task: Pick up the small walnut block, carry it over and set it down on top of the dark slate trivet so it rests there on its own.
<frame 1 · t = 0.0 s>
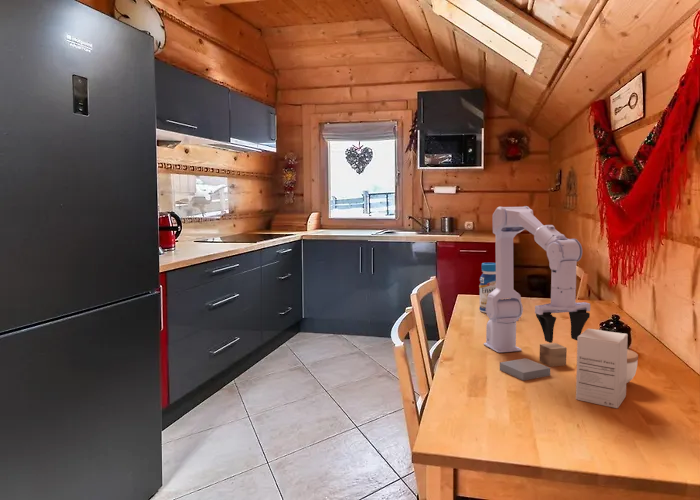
hand: (561, 340, 127), 10 cm above the table, tool pointing down, fingers open, 7 cm apart
lidded jar: (612, 382, 125), on the table
walnut block: (552, 363, 141), on the table
supplement box: (600, 399, 115), on the table
slate trivet: (524, 374, 133), on the table
beverage bottle: (489, 311, 207), on the table
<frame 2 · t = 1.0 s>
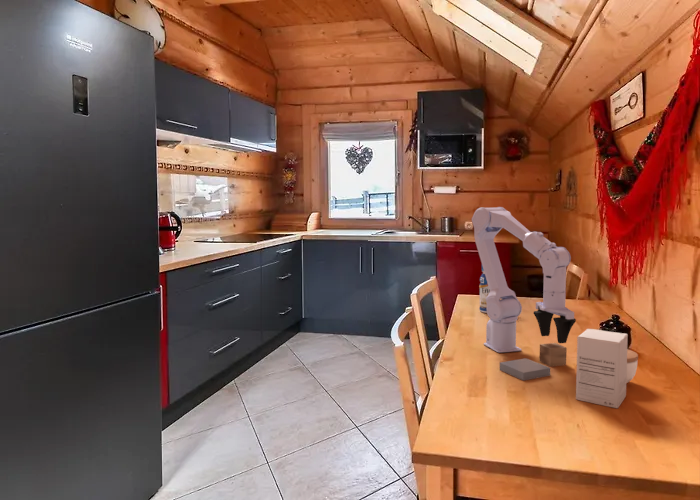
hand: (553, 339, 140), 7 cm above the table, tool pointing down, fingers open, 7 cm apart
nothing on the table moved.
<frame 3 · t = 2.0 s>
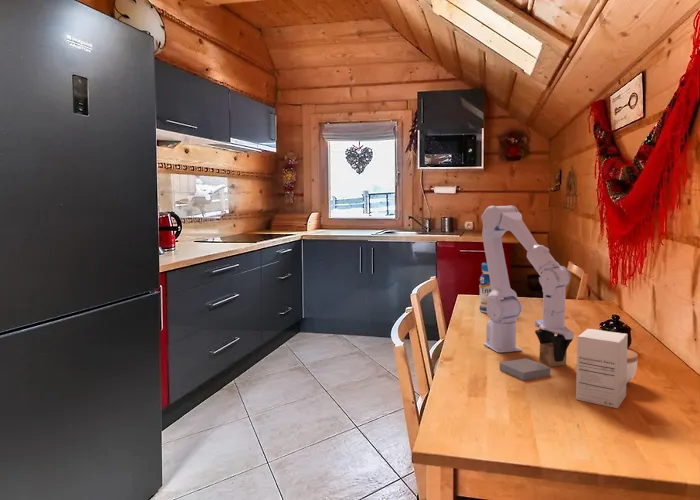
hand: (552, 358, 141), 1 cm above the table, tool pointing down, fingers closed on walnut block, 5 cm apart
walnut block: (552, 362, 141), on the table, touching gripper
everything else where it was.
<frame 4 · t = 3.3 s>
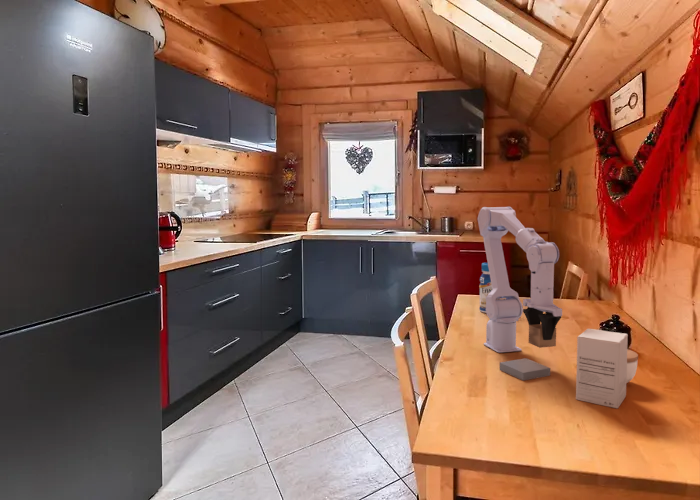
hand: (541, 337, 136), 8 cm above the table, tool pointing down, fingers closed on walnut block, 5 cm apart
walnut block: (542, 344, 137), point 6 cm above the table, touching gripper
everything else where it was.
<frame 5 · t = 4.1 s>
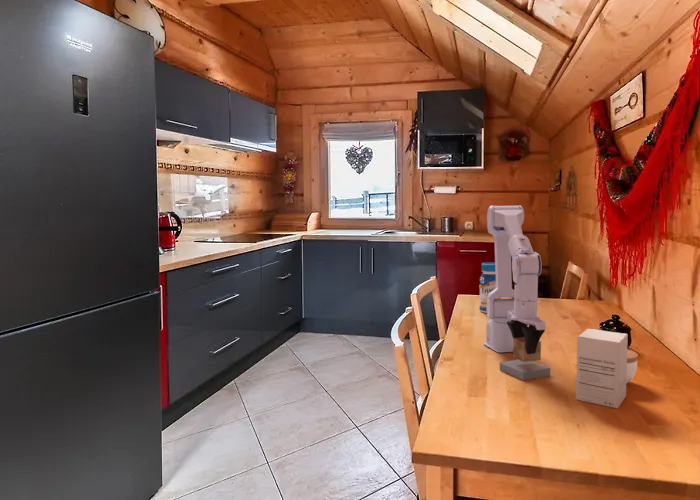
hand: (524, 350, 133), 6 cm above the table, tool pointing down, fingers closed on walnut block, 5 cm apart
walnut block: (526, 358, 133), point 4 cm above the table, touching gripper
everything else where it was.
when the fingers open (5 cm above the table, at t = 4.7 s): walnut block drops 1 cm, resting on slate trivet.
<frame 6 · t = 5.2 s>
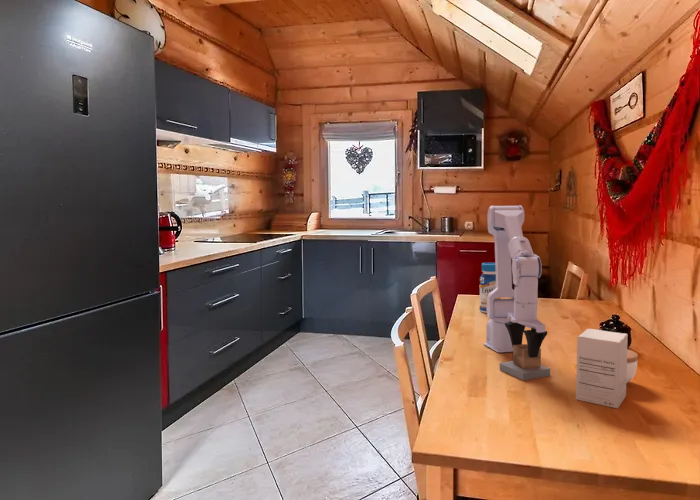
hand: (524, 352, 133), 5 cm above the table, tool pointing down, fingers open, 7 cm apart
walnut block: (526, 365, 133), point 2 cm above the table, touching slate trivet
slate trivet: (524, 374, 133), on the table, touching walnut block
everything else where it was.
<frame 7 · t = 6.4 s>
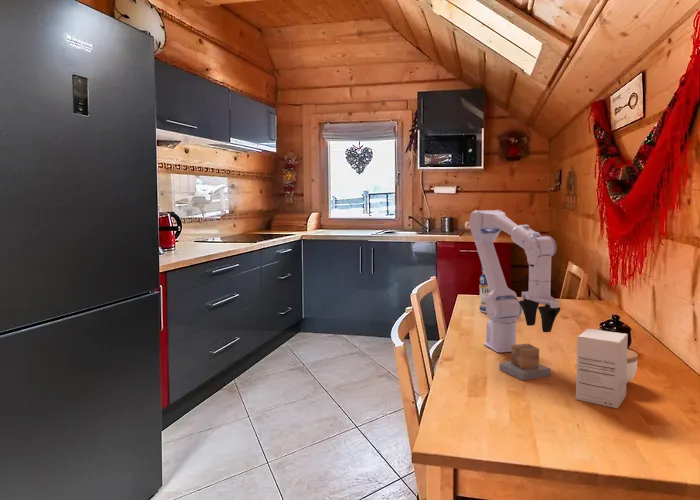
hand: (538, 328, 140), 10 cm above the table, tool pointing down, fingers open, 7 cm apart
walnut block: (524, 365, 133), point 2 cm above the table
slate trivet: (524, 374, 133), on the table
everything else where it was.
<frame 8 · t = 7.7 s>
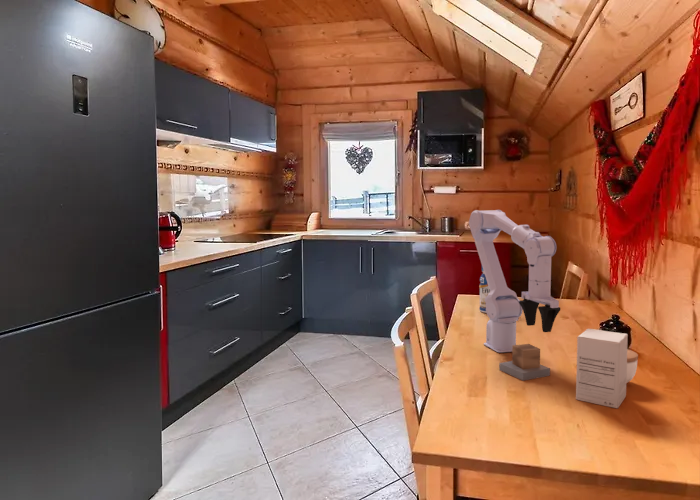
hand: (538, 328, 140), 10 cm above the table, tool pointing down, fingers open, 7 cm apart
walnut block: (525, 365, 133), point 2 cm above the table, touching slate trivet
slate trivet: (524, 374, 133), on the table, touching walnut block
everything else where it was.
at the end: walnut block 0.4 cm off-centre on the slate trivet, point 2.5 cm above the slate trivet's base; walnut block tilted 0°; the gripper is holding nothing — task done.
